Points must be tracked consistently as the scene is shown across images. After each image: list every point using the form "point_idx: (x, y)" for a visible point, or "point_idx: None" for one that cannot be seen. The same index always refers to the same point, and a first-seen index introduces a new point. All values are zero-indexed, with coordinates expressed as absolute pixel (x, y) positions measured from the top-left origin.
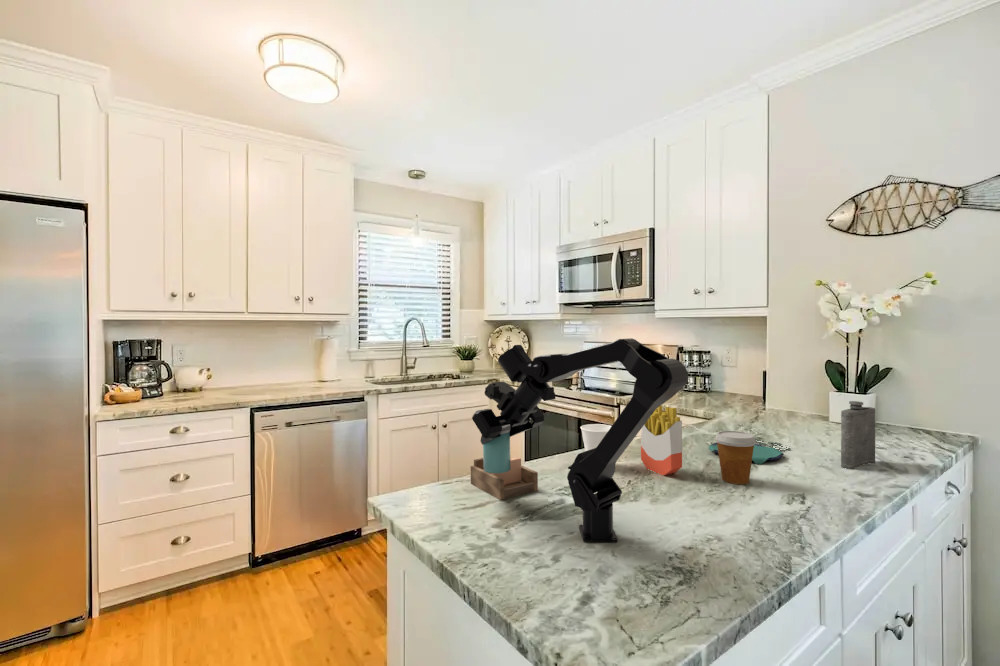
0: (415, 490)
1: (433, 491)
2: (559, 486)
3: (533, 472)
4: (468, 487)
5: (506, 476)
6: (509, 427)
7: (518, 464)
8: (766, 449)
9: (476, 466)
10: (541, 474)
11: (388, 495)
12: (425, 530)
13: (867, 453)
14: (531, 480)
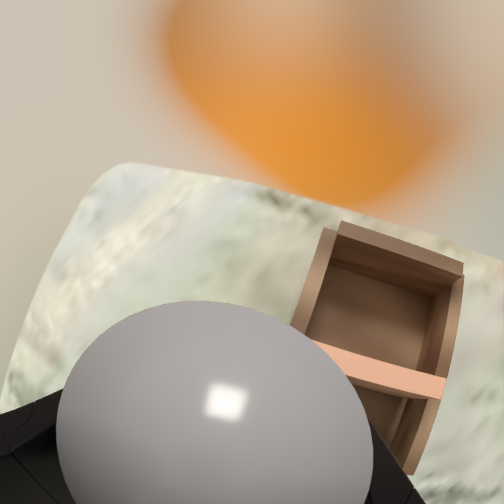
0: (186, 180)
1: (202, 216)
2: (449, 477)
3: (404, 466)
4: (285, 271)
5: (354, 382)
6: None
7: (419, 396)
8: None
9: (336, 245)
10: (500, 368)
11: (136, 164)
12: (31, 357)
13: None
14: (396, 450)
